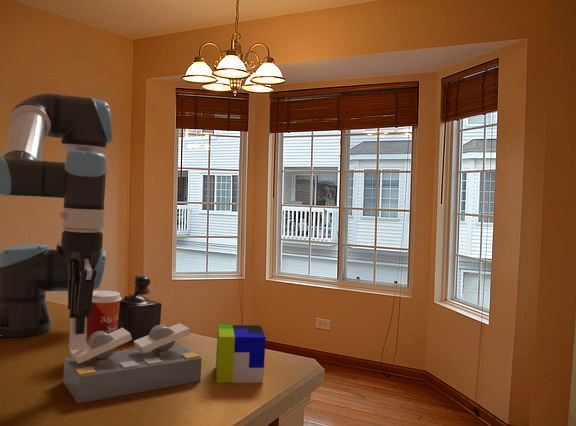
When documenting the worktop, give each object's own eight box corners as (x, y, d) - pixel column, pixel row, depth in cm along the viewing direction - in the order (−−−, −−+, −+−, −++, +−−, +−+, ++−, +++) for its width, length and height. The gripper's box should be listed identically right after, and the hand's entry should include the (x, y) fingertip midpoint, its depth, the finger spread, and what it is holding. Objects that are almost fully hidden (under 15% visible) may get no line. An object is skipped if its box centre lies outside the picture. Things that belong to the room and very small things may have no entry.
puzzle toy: (263, 382, 110) (265, 337, 109) (216, 382, 108) (219, 336, 108) (258, 367, 120) (260, 325, 119) (215, 367, 118) (218, 324, 118)
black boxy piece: (104, 334, 138) (107, 269, 138) (139, 328, 147) (142, 266, 146) (136, 347, 128) (140, 277, 128) (172, 340, 137) (175, 274, 136)
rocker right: (136, 354, 110) (131, 333, 109) (182, 335, 116) (178, 316, 115) (144, 360, 106) (139, 339, 105) (191, 341, 112) (187, 321, 111)
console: (63, 382, 103) (64, 355, 103) (177, 364, 118) (178, 340, 118) (77, 403, 93) (79, 373, 93) (200, 381, 108) (201, 355, 108)
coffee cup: (106, 362, 116) (110, 298, 116) (74, 358, 118) (78, 294, 117) (125, 352, 124) (128, 291, 124) (95, 348, 126) (98, 288, 126)
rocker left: (74, 363, 102) (67, 342, 101) (126, 340, 108) (120, 320, 107) (80, 371, 98) (73, 349, 97) (134, 346, 104) (128, 325, 103)
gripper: (55, 227, 102) (49, 342, 103) (70, 233, 92) (64, 361, 92) (93, 227, 107) (87, 338, 107) (112, 233, 96) (106, 355, 97)
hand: (77, 348), depth 100 cm, fingers closed
